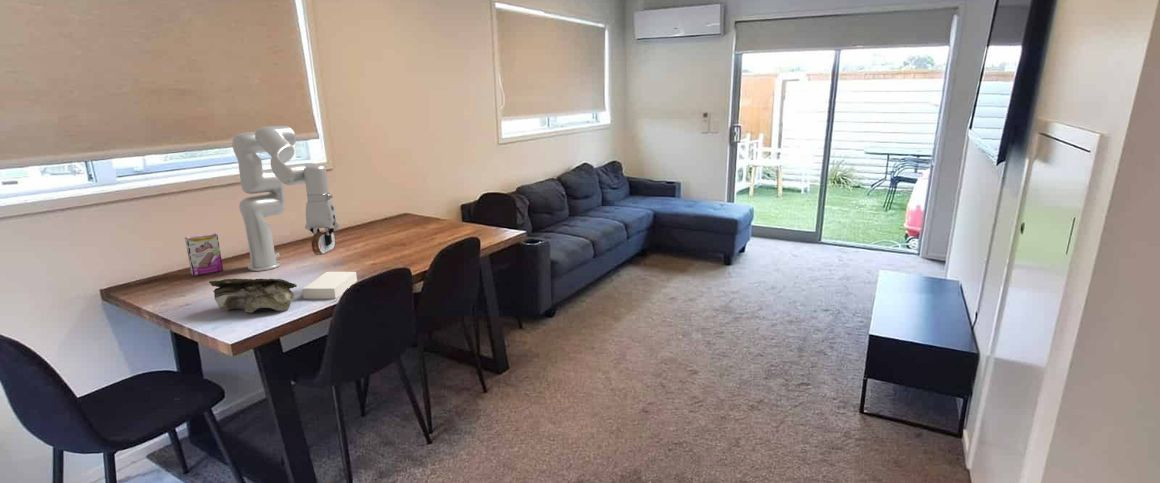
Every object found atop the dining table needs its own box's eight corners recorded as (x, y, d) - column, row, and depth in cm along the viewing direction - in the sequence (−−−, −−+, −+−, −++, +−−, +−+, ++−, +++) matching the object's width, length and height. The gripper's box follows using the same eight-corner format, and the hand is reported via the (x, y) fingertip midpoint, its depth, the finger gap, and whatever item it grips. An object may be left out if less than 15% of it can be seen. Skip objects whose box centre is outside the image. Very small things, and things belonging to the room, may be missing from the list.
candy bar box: (193, 276, 231) (186, 239, 227) (191, 274, 234) (183, 237, 230) (224, 271, 238) (217, 234, 234) (221, 268, 242) (214, 232, 238)
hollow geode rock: (216, 322, 196) (190, 304, 183) (227, 290, 203) (203, 271, 190) (295, 319, 196) (274, 301, 183) (303, 287, 203) (284, 268, 190)
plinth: (327, 281, 225) (326, 271, 224) (357, 281, 225) (356, 271, 224) (303, 298, 206) (302, 288, 205) (335, 298, 206) (334, 288, 204)
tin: (331, 248, 221) (327, 228, 219) (338, 248, 221) (334, 227, 219) (312, 257, 206) (308, 235, 205) (321, 256, 206) (316, 234, 204)
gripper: (343, 196, 212) (349, 242, 217) (302, 196, 212) (308, 242, 217) (335, 199, 205) (341, 247, 209) (292, 199, 205) (298, 247, 209)
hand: (324, 244), depth 213 cm, fingers closed on tin, 2 cm apart
